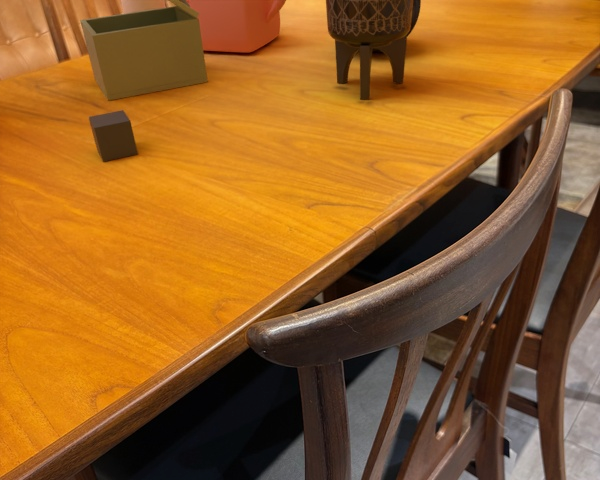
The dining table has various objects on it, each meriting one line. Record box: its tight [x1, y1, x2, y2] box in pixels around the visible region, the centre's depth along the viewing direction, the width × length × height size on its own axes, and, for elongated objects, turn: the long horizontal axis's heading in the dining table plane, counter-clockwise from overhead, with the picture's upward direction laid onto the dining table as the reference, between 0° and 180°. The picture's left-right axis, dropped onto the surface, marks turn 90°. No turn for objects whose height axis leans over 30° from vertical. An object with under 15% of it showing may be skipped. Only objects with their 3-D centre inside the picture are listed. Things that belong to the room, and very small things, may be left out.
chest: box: [79, 5, 209, 101], centre depth 101 cm, size 17×13×10 cm
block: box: [88, 109, 139, 162], centre depth 79 cm, size 4×4×4 cm
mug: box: [120, 0, 167, 14], centre depth 118 cm, size 12×8×12 cm
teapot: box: [185, 0, 287, 53], centre depth 118 cm, size 20×22×14 cm
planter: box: [325, 0, 413, 101], centre depth 90 cm, size 13×13×18 cm
